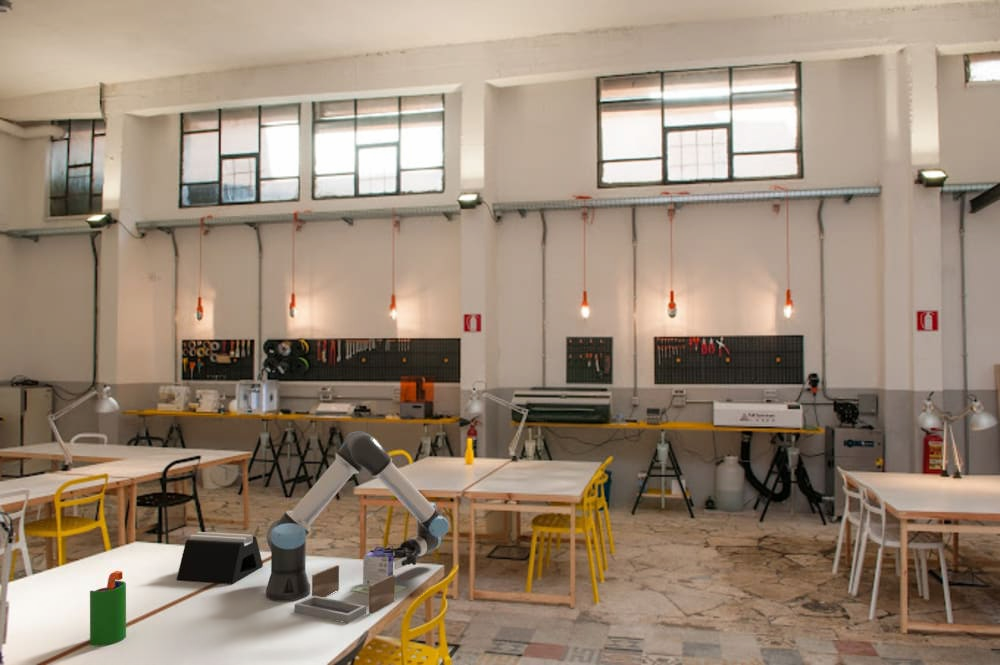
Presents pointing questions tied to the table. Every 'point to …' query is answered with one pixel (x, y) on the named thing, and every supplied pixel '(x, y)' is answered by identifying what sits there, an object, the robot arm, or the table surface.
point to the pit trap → (330, 609)
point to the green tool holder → (108, 612)
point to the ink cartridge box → (376, 567)
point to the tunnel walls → (378, 591)
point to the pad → (360, 589)
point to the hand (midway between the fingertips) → (379, 563)
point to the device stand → (219, 558)
